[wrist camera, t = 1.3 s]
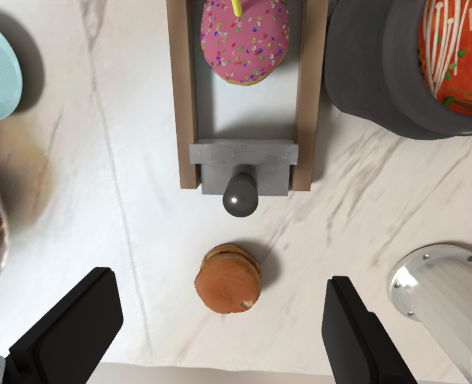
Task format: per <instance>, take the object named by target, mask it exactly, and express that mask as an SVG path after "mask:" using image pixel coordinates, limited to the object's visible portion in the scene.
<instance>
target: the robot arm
mask: <svg viewBox="0 0 472 384" xmlns="http://www.w3.org/2000/svg"><path fill="white" fill-rule="evenodd" d="M387 291H388V296H389V298H390V300H391V302H392V304H393V305H394V306H395V308H396V309H397V310H398V311H399V312H400V313H401V314H402V315H404V316H405V317H407V318H409V319H412V320H414V321H418V322H421V323H422V324H423V325H424V327H425V328H426V329H427V330H428V332H429V333H430V334H431V335H432V337H433V338H434V339H435V340H436V342H437V343H438V344H439V345H440V347H441V348H442V349H443V350H444V352H445V353H446V354H447V355H448V357H449V358H450V359H451V360H452V362H453V363H454V364H455V365H456V367H457V368H458V369H459V370H460V372H461V373H462V374H463V375H464V377H465V378H466V379H467V380H468V382H469V383H470V384H472V252H471V251H469V250H467V249H465V248H463V247H460V246H456V245H450V244H439V245H431V246H428V247H424V248H421V249H419V250H416V251H414V252H412V253H411V254H409V255H408V256H406V257H405V258H404V259H402V260H401V261H400V262H399V263H398V264H397V265H396V267H395V268H394V269H393V271H392V273H391V275H390V277H389V280H388V286H387ZM122 324H123V313H122V308H121V303H120V298H119V293H118V288H117V282H116V277H115V273H114V271H112V270H111V269H110V268H109V267H95V268H94V269H93V270H91V271H90V272H89V273H88V274H87V275H86V276H85V277H84V278H83V279H82V280H81V281H80V282H79V283H78V284H77V285H76V286H75V287H74V288H72V289H71V290H70V291H69V292H68V293H67V294H66V295H65V296H64V297H63V298H62V299H61V300H60V301H59V302H58V303H57V304H56V305H55V306H54V307H52V308H51V309H50V310H49V311H48V312H47V313H46V314H45V315H44V316H43V317H42V318H41V319H40V320H39V321H38V322H37V323H36V324H35V325H33V326H32V327H31V328H30V329H29V330H28V331H27V332H26V333H25V334H24V335H23V336H22V337H21V338H20V339H19V340H18V341H17V342H16V343H15V344H13V345H12V346H11V347H10V348H9V352H10V354H9V355H8V356H7V357H6V358H4V357H2V356H0V384H86V382H87V381H88V379H89V378H90V376H91V374H92V373H93V371H94V370H95V368H96V367H97V365H98V363H99V362H100V360H101V359H102V357H103V355H104V354H105V352H106V351H107V349H108V348H109V346H110V344H111V343H112V341H113V340H114V338H115V336H116V335H117V333H118V332H119V330H120V329H121V327H122ZM322 338H323V342H324V345H325V348H326V352H327V355H328V358H329V362H330V365H331V368H332V372H333V375H334V378H335V382H336V384H418V383H417V382H416V380H415V378H414V377H413V375H412V373H411V372H410V370H409V368H408V367H407V365H406V363H405V362H404V360H403V358H402V357H401V355H400V353H399V352H398V350H397V348H396V347H395V345H394V343H393V342H392V340H391V338H390V337H389V335H388V333H387V332H386V330H385V329H384V327H383V325H382V324H381V322H380V320H379V319H378V317H377V316H376V314H375V313H373V312H368V310H367V308H366V307H365V305H364V303H363V302H362V300H361V298H360V296H359V295H358V293H357V291H356V289H355V288H354V286H353V284H352V282H351V281H350V279H349V277H347V276H333V277H332V279H328V282H327V289H326V297H325V305H324V313H323V321H322Z"/></svg>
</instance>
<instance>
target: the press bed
mask: <svg viewBox="0 0 472 384" xmlns="http://www.w3.org/2000/svg"><path fill="white" fill-rule="evenodd" d="M328 2H329V0H304V1H303V16H302V30H301V44H300V58H299V72H298V87H297V101H296V115H295V129H294V142H295V143H297V144H298V145H299V146H298V159H297V165H292V172H291V187H292V189H293V191H310V187H311V177H312V166H313V156H314V146H315V136H316V125H317V115H318V105H319V94H320V84H321V74H322V63H323V53H324V43H325V33H326V22H327V12H328ZM166 5H167V18H168V31H169V44H170V57H171V70H172V83H173V96H174V108H175V121H176V134H177V147H178V160H179V173H180V186H181V189H197V187H198V186H199V185H200V165H199V164H190V150H189V144H191V143H193V142H195V141H197V140H198V125H197V105H196V85H195V65H194V45H193V26H192V6H191V0H166Z"/></svg>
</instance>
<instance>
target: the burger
mask: <svg viewBox="0 0 472 384" xmlns="http://www.w3.org/2000/svg"><path fill="white" fill-rule="evenodd" d="M260 276H261V271H260V266H259V264H258V262H257V261H255V260H254V258H252V257H251V256H250V255H249V254H248V253H247V252H246V251H244V250H242V249H241V248H238V247H236V246H235V245H231V244H227V245H221V246H218V247H215V248H213V249H212V250H211V251H209V252H208V253H207V254H206V255H205V257H204V259H203V261H202V264H201V268H200V271H199V273H198V275H197V276H196V279H195V281H194V283H195V288H196V291H197V293H198V295H199V297H200V298H201V299H202V300H203V302H204V303H205V305H206V306H207V307H208V308H210V309H211V310H213V311H215V312H217V313H221V314H230V313H231V312H232V313H238V312H244V311H247V310H249V309H250V308H251V307H252V306H253V304H254V303H255V302H256V301H257V300H258V298H259V296H260V292H261V283H260V278H261V277H260Z"/></svg>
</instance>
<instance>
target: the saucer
mask: <svg viewBox="0 0 472 384" xmlns="http://www.w3.org/2000/svg"><path fill="white" fill-rule="evenodd" d="M22 87H23V79H22V72H21V68H20V65H19V62H18V59H17V57H16V54H15V53H14V50H13V49H12V47H11V45H10V44H9V43H8V41H7V40H6V38H5V37H4V36H3V35H2V34H1V32H0V120H1V119H4V118H6V117H7V116H9V115H10V114H11V113H12V112H13V111H14V110H15V108H16V107H17V105H18V103H19V101H20V98H21V94H22Z"/></svg>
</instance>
